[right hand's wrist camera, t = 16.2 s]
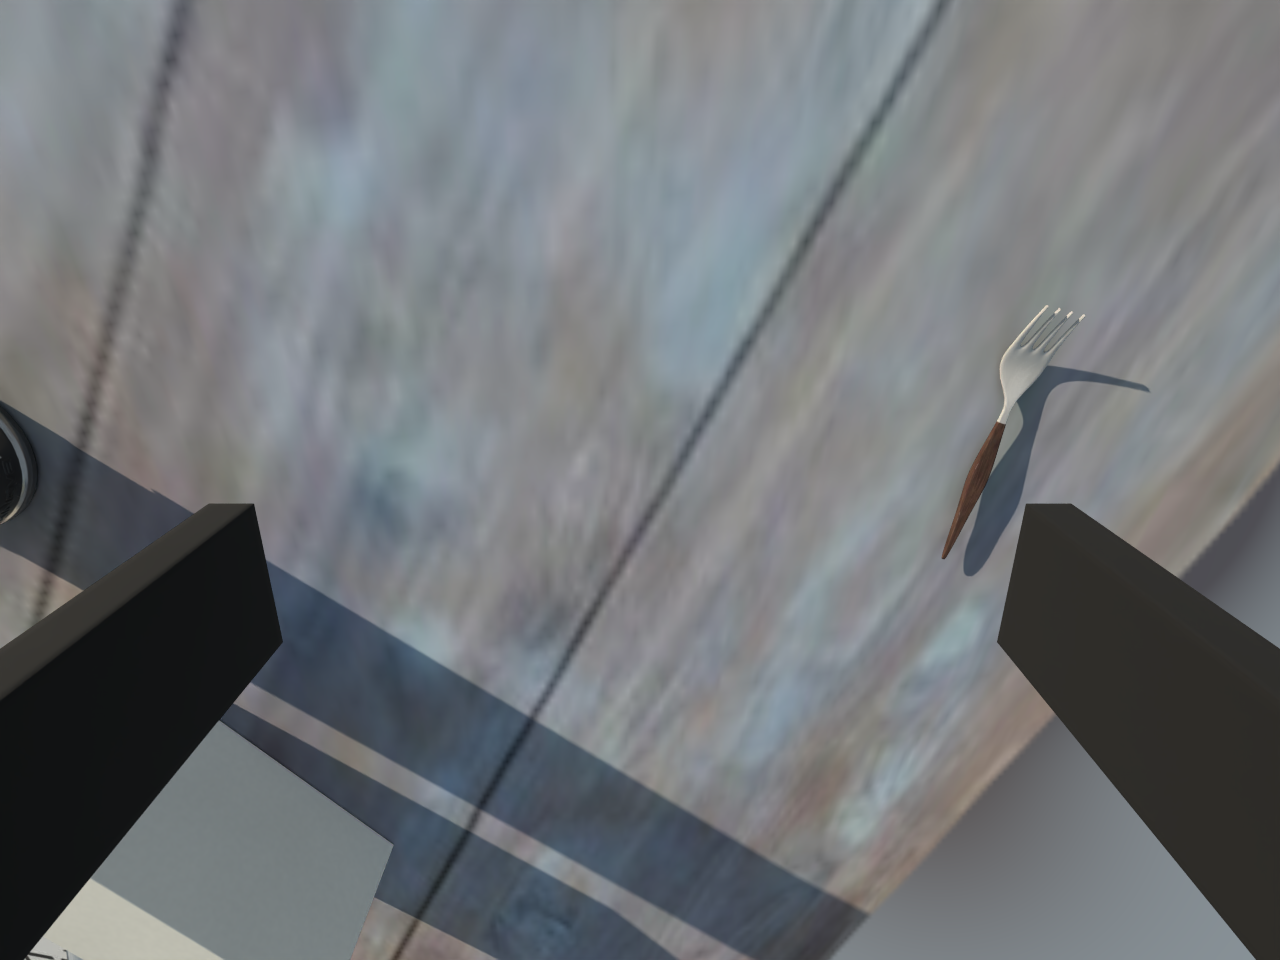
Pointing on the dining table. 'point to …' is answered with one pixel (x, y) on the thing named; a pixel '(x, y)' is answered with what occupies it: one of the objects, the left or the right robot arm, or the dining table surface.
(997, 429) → the fork
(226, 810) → the box
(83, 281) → the dining table surface
